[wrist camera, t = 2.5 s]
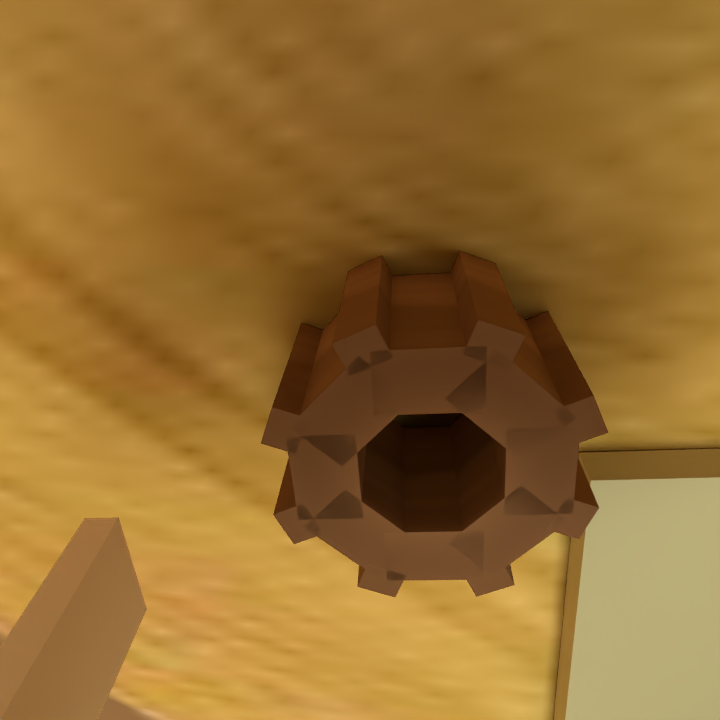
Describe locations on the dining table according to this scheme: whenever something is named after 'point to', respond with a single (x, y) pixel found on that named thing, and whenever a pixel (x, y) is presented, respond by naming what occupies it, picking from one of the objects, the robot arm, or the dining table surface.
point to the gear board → (644, 591)
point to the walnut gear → (432, 429)
